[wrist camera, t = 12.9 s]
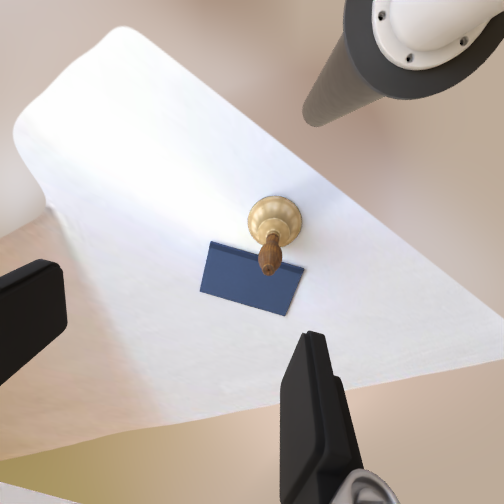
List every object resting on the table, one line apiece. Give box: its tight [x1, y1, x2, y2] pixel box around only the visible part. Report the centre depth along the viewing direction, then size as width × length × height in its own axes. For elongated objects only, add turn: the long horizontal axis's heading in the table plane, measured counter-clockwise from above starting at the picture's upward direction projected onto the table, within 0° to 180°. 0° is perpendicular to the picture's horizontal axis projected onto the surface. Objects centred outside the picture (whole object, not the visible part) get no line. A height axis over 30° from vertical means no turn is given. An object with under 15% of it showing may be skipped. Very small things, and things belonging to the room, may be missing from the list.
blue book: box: [200, 241, 304, 316], centre depth 43 cm, size 10×16×1 cm, turn 75°
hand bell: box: [248, 196, 302, 276], centre depth 31 cm, size 8×8×16 cm
